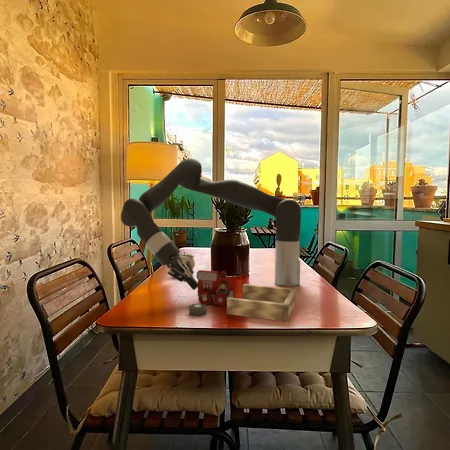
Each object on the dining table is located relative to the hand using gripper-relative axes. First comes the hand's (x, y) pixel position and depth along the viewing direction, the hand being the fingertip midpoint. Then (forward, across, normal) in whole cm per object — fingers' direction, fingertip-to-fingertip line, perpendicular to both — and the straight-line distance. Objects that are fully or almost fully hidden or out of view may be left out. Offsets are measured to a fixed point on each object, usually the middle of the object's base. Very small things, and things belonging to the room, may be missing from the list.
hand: (196, 287), depth 109 cm
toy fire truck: (+8, 0, +1) cm, 8 cm away
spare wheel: (+7, +11, +1) cm, 13 cm away
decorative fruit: (-11, -33, -18) cm, 39 cm away
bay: (+18, 0, +12) cm, 22 cm away
